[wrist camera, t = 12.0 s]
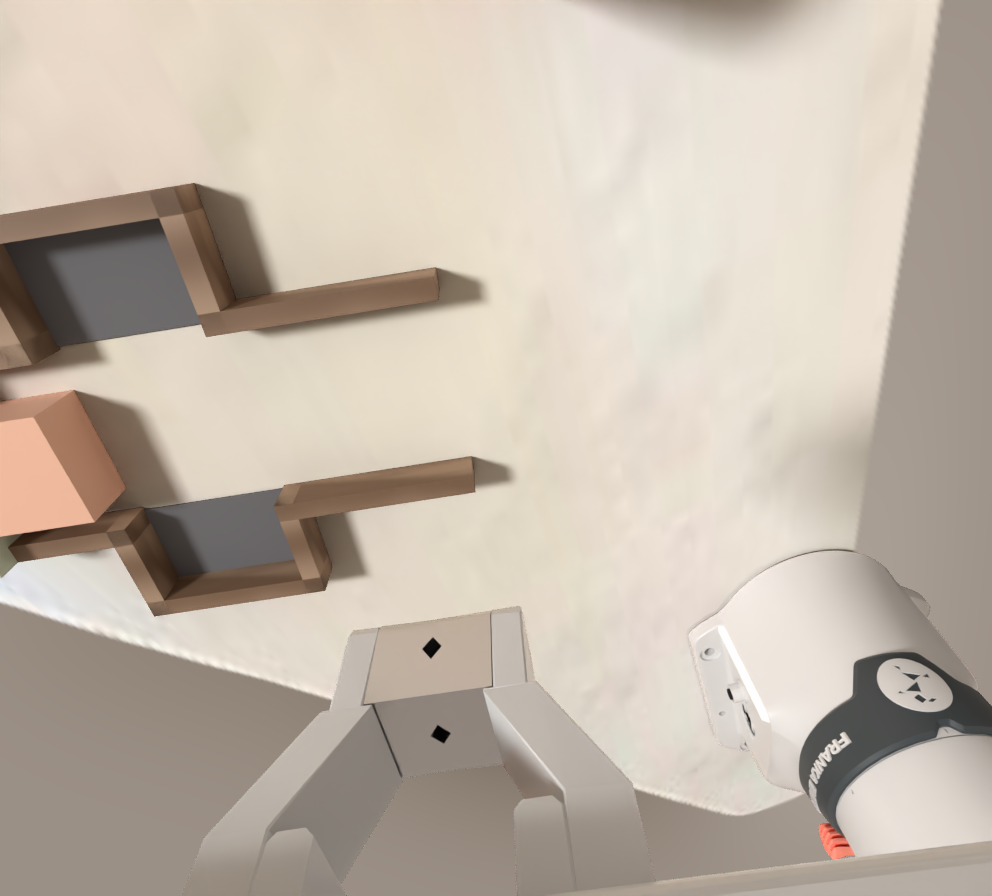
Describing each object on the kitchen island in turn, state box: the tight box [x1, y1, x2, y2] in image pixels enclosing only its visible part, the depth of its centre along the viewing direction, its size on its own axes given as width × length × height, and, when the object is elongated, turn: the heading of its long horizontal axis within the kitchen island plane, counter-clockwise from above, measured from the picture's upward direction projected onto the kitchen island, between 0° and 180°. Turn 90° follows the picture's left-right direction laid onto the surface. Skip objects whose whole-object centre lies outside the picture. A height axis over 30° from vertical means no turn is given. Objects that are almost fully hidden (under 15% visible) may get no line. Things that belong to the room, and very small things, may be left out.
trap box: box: [0, 183, 475, 616], centre depth 34 cm, size 25×31×4 cm
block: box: [0, 390, 126, 537], centre depth 35 cm, size 7×7×4 cm
